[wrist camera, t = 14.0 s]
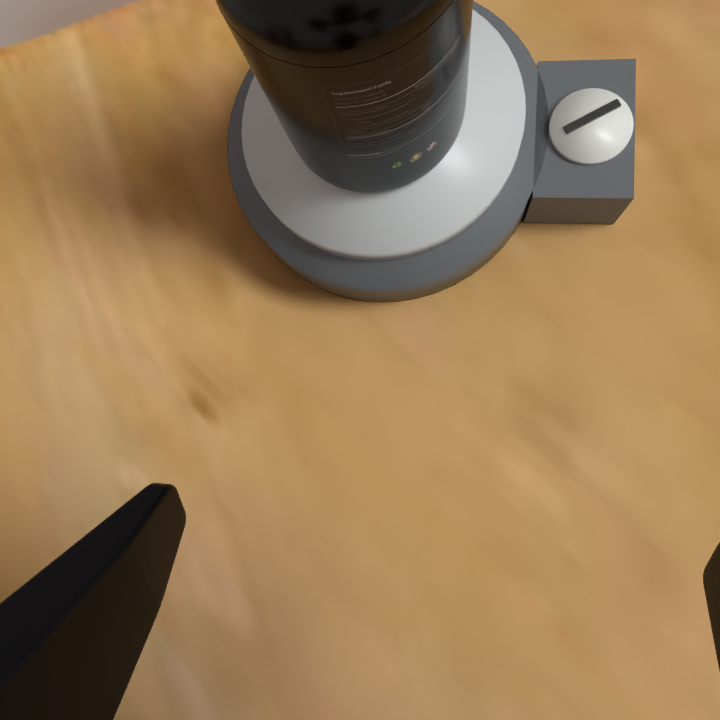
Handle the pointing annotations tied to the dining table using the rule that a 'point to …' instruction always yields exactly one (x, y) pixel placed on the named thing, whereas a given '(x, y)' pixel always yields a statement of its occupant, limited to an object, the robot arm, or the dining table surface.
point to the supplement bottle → (361, 81)
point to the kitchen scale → (448, 175)
